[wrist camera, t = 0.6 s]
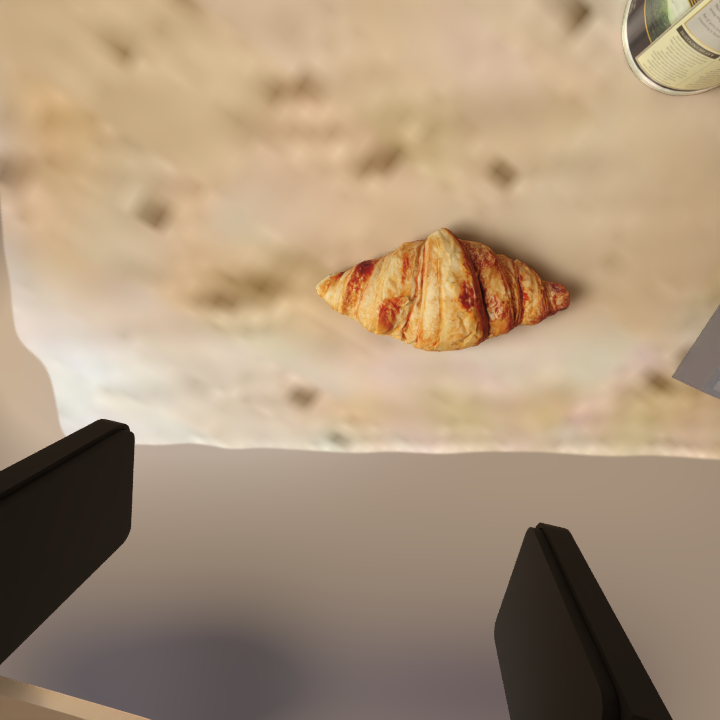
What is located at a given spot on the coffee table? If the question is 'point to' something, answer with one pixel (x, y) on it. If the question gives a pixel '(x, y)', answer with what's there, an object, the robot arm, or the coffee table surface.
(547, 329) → the coffee table surface
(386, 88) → the coffee table surface
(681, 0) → the coffee can
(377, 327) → the croissant
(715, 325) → the power strip
